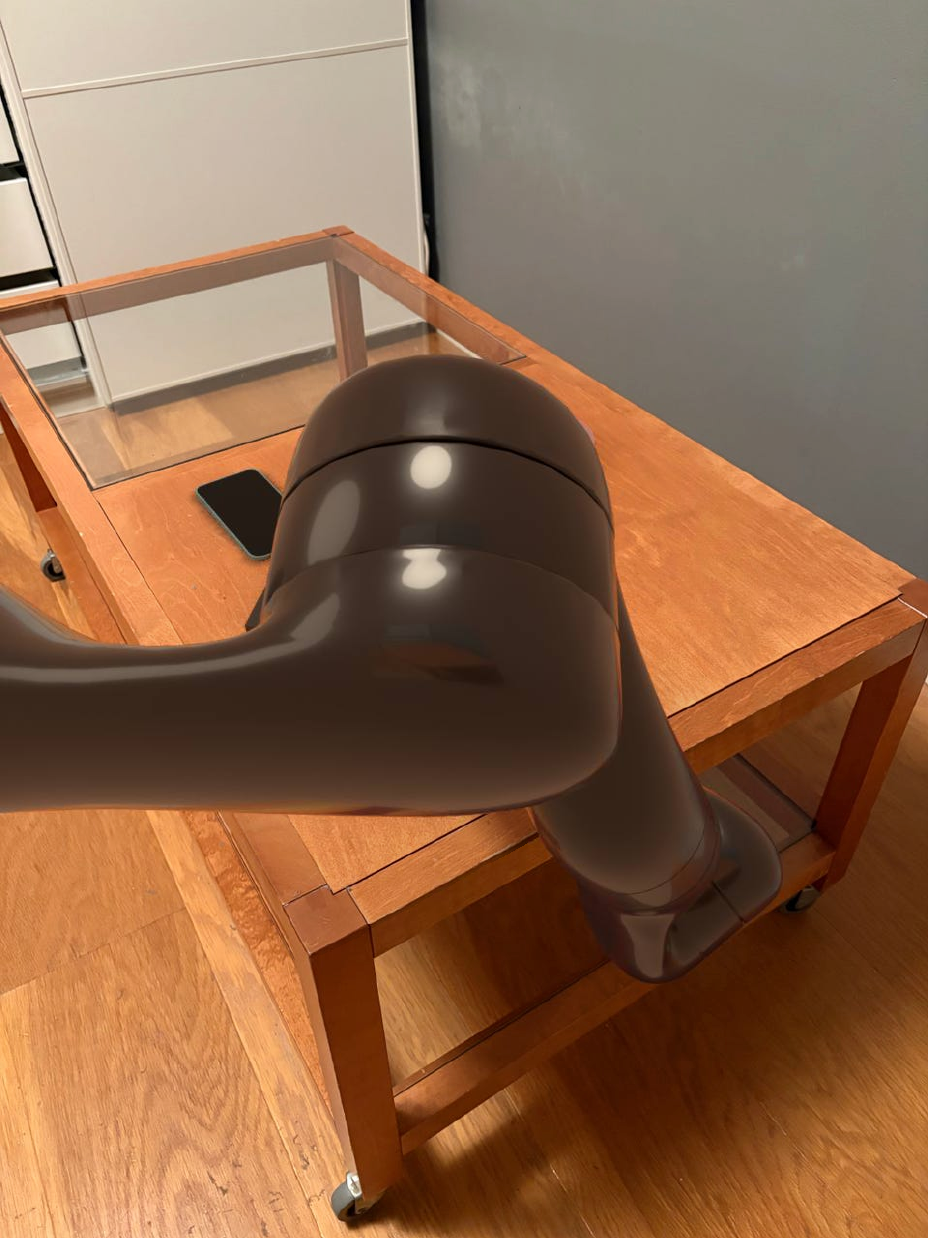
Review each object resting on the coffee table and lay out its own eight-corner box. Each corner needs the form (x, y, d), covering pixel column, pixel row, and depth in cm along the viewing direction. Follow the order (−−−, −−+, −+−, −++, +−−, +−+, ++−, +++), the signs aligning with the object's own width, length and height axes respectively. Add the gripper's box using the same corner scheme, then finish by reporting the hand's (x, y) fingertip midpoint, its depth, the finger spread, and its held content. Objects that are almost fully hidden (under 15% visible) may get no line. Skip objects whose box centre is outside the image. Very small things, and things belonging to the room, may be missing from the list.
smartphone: (253, 560, 89) (191, 488, 98) (255, 569, 90) (193, 496, 99) (321, 533, 92) (255, 465, 101) (322, 542, 93) (256, 474, 102)
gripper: (617, 616, 62) (490, 495, 73) (419, 693, 57) (316, 550, 68) (609, 699, 66) (491, 573, 78) (426, 776, 61) (329, 629, 73)
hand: (410, 563), depth 73 cm, fingers closed on wooden figurine, 5 cm apart
